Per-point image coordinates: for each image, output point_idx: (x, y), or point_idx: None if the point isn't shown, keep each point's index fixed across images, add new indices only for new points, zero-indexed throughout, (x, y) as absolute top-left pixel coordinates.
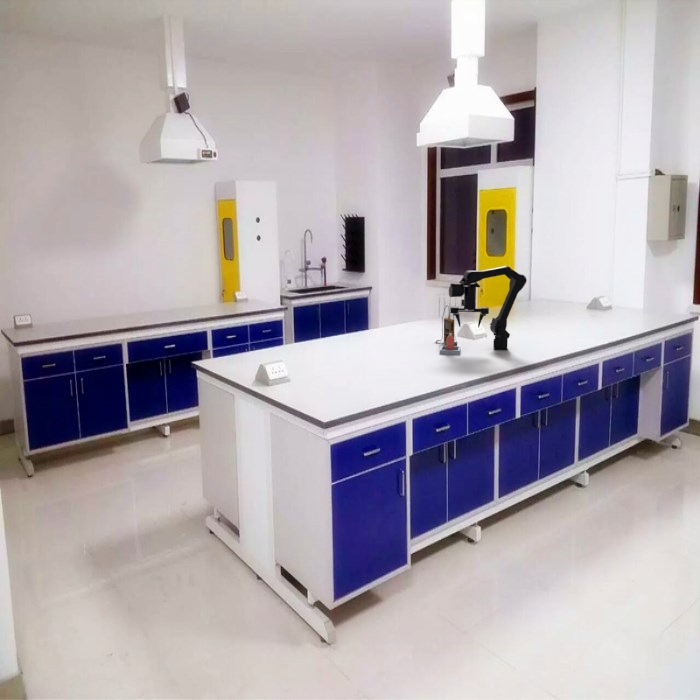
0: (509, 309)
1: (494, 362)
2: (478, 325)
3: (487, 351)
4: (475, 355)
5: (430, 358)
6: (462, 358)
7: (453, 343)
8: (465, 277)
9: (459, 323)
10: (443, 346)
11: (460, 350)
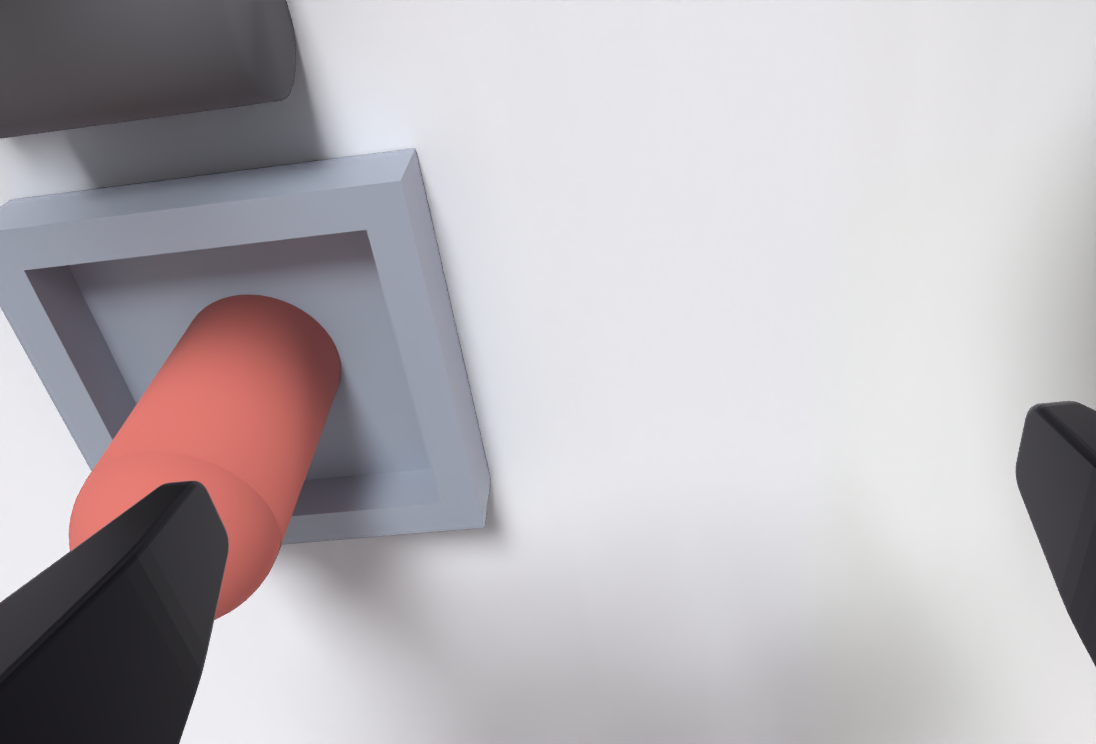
0: None
1: (1005, 726)
2: (1067, 582)
3: (1013, 119)
4: (752, 471)
5: None
6: (573, 647)
7: (296, 502)
8: None
9: (156, 736)
10: (40, 264)
11: (438, 271)
